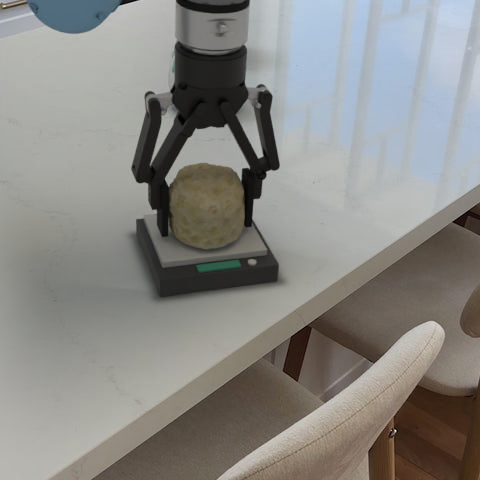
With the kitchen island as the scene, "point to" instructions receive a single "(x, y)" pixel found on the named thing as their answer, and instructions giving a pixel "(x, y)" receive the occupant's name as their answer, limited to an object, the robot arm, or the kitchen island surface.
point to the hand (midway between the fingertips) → (204, 225)
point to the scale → (204, 260)
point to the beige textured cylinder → (206, 205)
